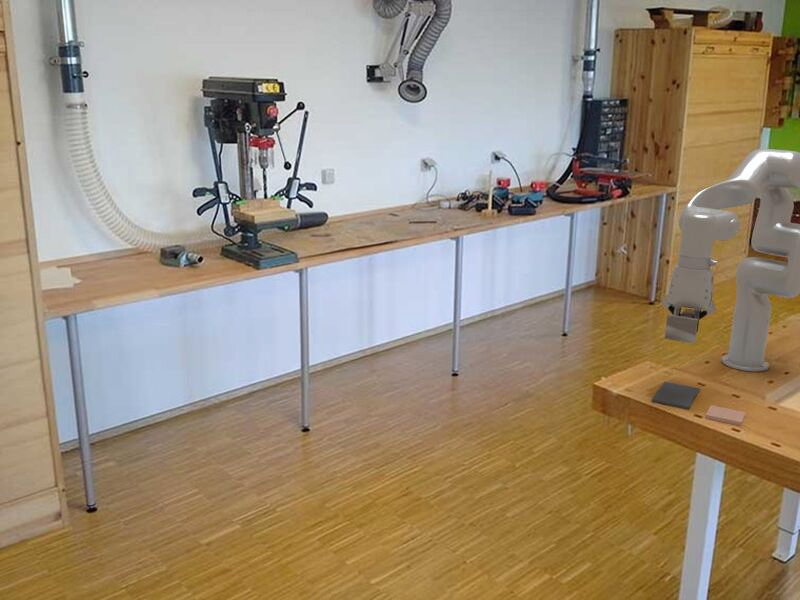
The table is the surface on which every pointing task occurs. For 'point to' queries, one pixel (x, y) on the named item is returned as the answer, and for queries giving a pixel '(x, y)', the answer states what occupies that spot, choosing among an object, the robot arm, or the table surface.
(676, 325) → the scraper
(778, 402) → the table surface
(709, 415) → the tile
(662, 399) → the mat
